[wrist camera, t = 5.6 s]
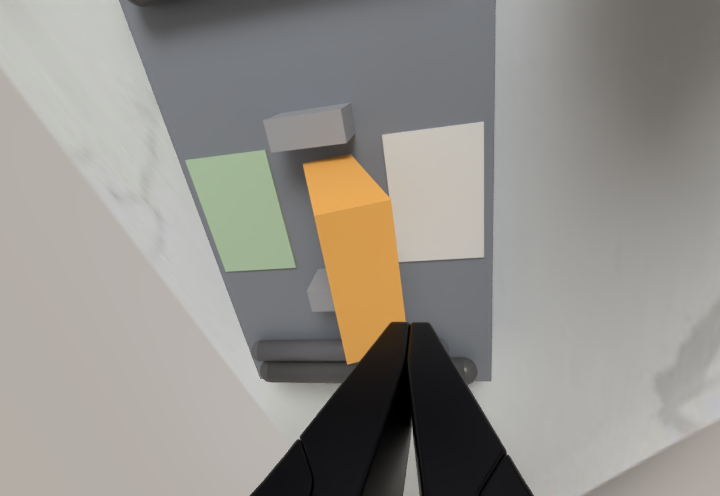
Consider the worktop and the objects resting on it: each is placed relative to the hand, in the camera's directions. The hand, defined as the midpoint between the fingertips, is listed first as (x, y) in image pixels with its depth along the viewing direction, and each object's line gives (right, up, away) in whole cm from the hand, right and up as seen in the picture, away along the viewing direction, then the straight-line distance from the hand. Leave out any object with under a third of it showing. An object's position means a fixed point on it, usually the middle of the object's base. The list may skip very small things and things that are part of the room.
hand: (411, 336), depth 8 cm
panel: (-2, +5, +12) cm, 13 cm away
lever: (-2, +4, +9) cm, 10 cm away
